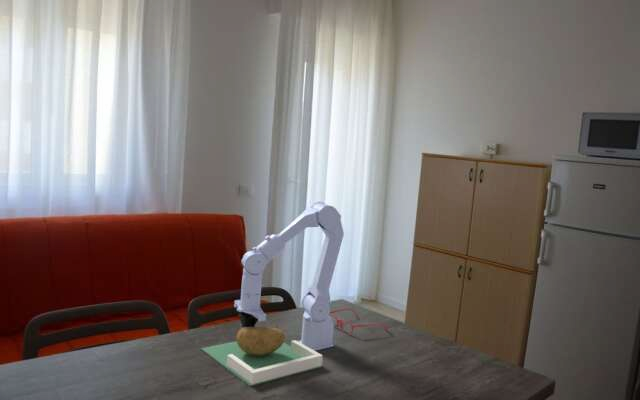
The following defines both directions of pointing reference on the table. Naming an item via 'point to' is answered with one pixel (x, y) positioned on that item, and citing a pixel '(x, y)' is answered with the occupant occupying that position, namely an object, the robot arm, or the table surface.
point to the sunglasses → (349, 322)
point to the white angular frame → (277, 365)
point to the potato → (259, 340)
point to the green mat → (252, 358)
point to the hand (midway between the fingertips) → (247, 337)
